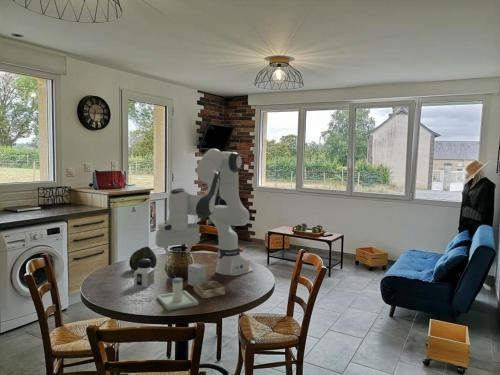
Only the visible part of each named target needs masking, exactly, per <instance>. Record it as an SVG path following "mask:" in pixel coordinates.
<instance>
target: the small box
mask: <svg viewBox="0 0 500 375" xmlns="http://www.w3.org/2000/svg"><path fill="white" fill-rule="evenodd" d="M202 282H207V265H205V264H200V263H196V262H194V263H192V264H188V265H187V285H189V286H191V287H194V284H196V283H202Z"/></svg>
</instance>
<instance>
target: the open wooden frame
mask: <svg viewBox="0 0 500 375" xmlns="http://www.w3.org/2000/svg"><path fill="white" fill-rule="evenodd" d="M193 292H195V293H196V294H197V295H199V297H201V298H202V299H207V298H212V297H217V296H223V295H226V287H225V286H223V284H221V283H219V282H218V281H216V280H209V281H206V282H202V283H196V284H194V286H193Z"/></svg>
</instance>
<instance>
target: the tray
mask: <svg viewBox="0 0 500 375" xmlns="http://www.w3.org/2000/svg"><path fill="white" fill-rule="evenodd" d="M156 297H157V300H158V301H159V302H160V303H161V304H162V306H163V307H165V309H166V310H167V311H168V312H171V311H174V310H175V311H177V310H180V309H181V310H182V309H185V308H191V307H196V306H199V300H197V299H196V298H195V297H194V296H192V294H191V293H189V292H188V291H186V290H182V301H181V302H173V292H169V293H168V292H167V293H163V294H158V295H157V296H156Z"/></svg>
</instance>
